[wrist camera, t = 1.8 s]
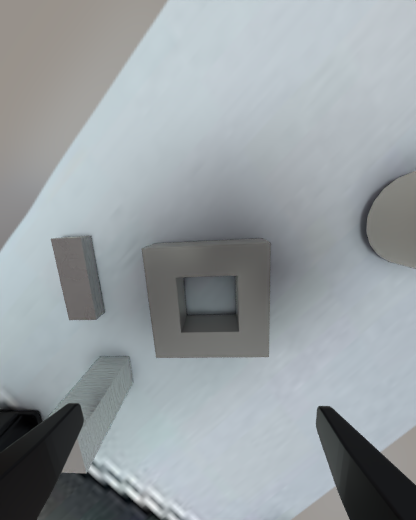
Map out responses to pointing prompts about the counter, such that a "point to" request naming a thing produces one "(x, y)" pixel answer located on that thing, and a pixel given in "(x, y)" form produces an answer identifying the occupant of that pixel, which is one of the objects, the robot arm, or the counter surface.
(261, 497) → the counter surface
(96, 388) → the square bit
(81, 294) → the flat bit
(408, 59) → the counter surface
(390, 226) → the can
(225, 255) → the bore block
